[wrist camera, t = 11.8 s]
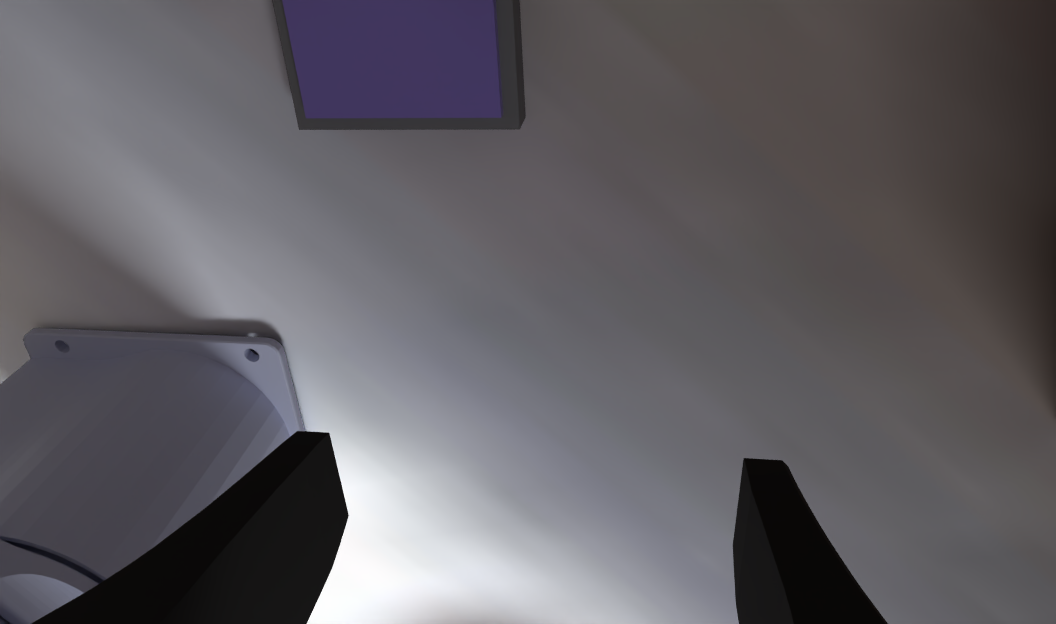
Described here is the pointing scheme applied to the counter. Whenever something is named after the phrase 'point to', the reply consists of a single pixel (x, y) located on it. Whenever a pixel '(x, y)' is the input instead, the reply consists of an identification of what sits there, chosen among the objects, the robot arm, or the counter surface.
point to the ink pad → (403, 63)
